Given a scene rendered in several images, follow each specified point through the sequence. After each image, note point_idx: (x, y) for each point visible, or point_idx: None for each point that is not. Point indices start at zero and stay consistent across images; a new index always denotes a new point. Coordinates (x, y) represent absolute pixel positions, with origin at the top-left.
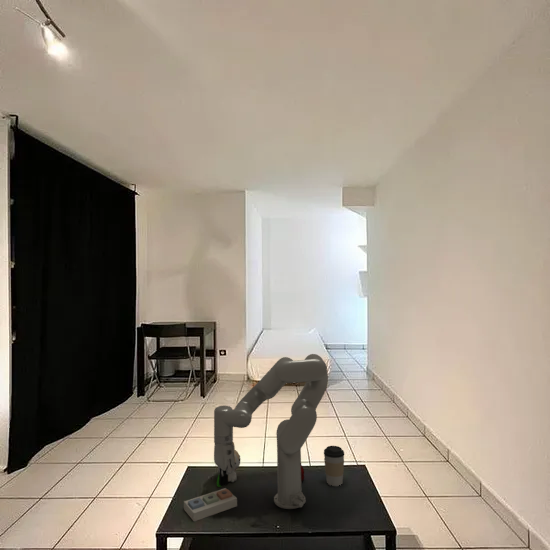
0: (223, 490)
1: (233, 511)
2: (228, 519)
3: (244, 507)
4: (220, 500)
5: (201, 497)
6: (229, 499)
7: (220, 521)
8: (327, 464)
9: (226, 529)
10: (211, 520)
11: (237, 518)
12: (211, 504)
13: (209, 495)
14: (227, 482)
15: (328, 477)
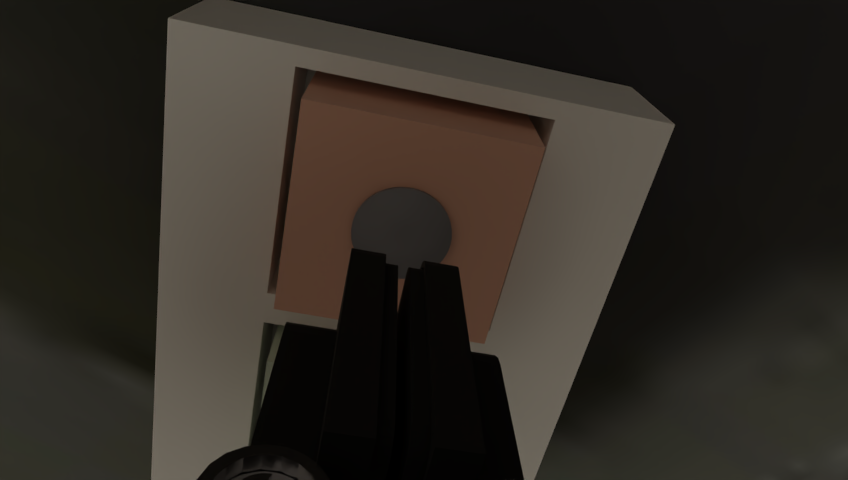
0: (313, 192)
1: (680, 212)
2: (743, 354)
3: (759, 28)
4: (486, 344)
5: (200, 464)
6: (585, 238)
7: (687, 426)
8: None
9: (843, 461)
10: (587, 470)
11: (834, 276)
12: None
13: None
14: (458, 299)
15: None
